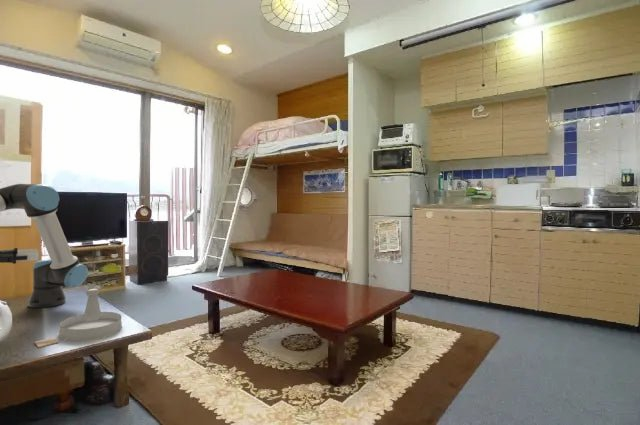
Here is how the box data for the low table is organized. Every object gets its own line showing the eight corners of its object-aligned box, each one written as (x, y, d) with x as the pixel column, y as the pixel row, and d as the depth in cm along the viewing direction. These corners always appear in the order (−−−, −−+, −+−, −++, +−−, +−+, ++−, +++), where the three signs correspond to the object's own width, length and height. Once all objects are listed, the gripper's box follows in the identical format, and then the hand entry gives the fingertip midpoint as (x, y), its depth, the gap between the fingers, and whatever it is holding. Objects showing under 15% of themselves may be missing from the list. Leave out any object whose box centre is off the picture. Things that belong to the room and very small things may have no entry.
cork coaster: (34, 343, 129) (34, 341, 129) (54, 338, 134) (54, 337, 133) (38, 347, 125) (38, 346, 125) (58, 343, 130) (58, 341, 130)
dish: (90, 320, 156) (90, 309, 156) (133, 324, 153) (133, 314, 153) (44, 339, 134) (44, 326, 134) (93, 344, 131) (93, 332, 131)
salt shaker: (96, 316, 148) (97, 286, 147) (103, 319, 144) (103, 288, 144) (81, 320, 143) (81, 289, 142) (87, 322, 140) (88, 291, 139)
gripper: (-32, 262, 135) (37, 258, 149) (-42, 274, 116) (38, 268, 130) (-32, 244, 135) (37, 241, 149) (-42, 252, 116) (38, 249, 130)
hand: (38, 254), depth 140 cm, fingers open, 13 cm apart
